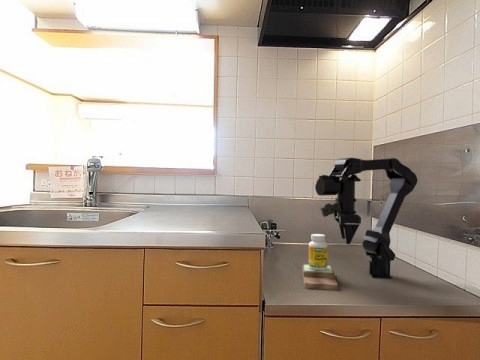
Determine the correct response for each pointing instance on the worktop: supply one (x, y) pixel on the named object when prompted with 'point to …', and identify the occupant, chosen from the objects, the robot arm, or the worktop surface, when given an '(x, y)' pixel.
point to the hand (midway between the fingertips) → (345, 241)
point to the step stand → (319, 278)
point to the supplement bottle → (318, 252)
